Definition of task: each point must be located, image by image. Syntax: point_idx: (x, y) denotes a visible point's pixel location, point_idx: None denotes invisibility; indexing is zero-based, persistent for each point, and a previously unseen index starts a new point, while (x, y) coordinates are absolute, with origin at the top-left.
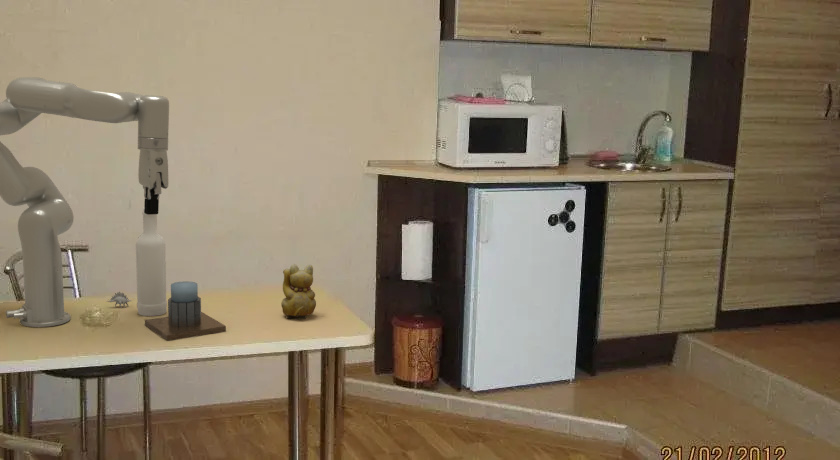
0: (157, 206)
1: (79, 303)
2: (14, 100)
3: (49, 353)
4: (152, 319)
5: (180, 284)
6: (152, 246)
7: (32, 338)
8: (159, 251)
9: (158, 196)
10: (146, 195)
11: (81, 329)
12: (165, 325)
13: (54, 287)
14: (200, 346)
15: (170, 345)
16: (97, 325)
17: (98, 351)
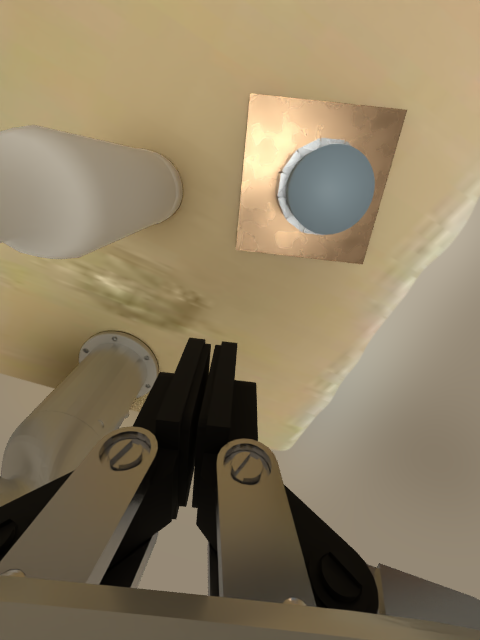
0: (232, 382)
1: (20, 280)
2: None
3: (286, 413)
4: (242, 234)
5: (323, 202)
6: (105, 218)
7: None
8: (114, 184)
9: (281, 488)
10: (152, 542)
11: None
12: (300, 233)
13: (120, 402)
14: (440, 225)
15: (387, 268)
16: (187, 314)
17: (325, 367)
